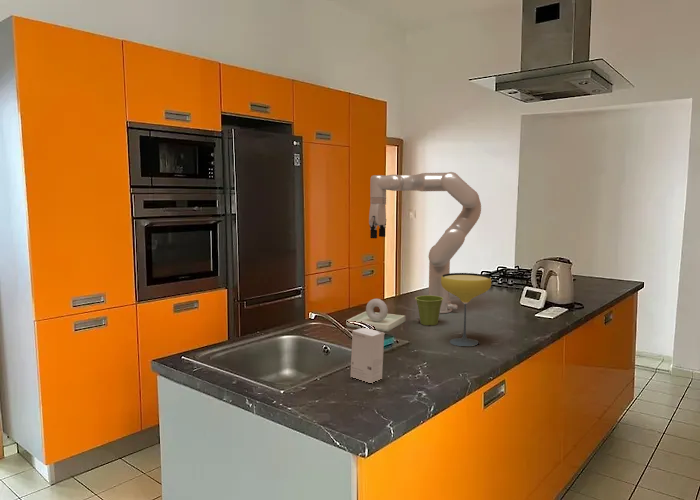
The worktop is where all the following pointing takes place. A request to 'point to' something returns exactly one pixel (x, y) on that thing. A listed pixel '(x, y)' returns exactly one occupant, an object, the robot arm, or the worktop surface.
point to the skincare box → (367, 355)
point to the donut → (382, 307)
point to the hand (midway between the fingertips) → (378, 237)
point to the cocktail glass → (465, 295)
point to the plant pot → (429, 309)
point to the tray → (385, 325)
